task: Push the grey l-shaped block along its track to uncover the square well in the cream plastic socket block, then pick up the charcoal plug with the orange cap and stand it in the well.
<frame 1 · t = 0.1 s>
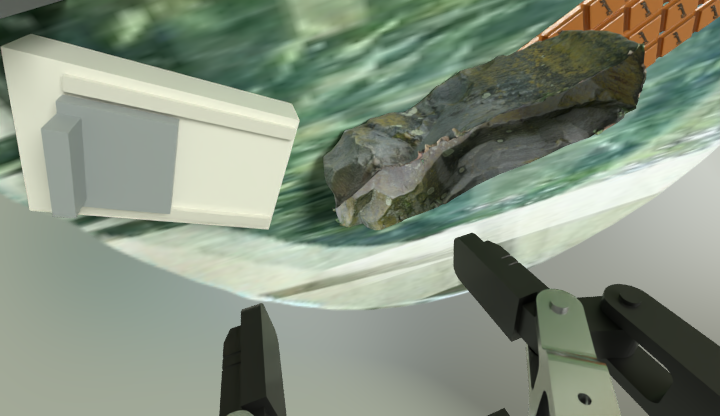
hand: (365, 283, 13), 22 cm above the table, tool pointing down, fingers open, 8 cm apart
socket block: (176, 141, 29), on the table
stone: (432, 121, 37), on the table
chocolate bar: (614, 34, 38), on the table
grey l-shaped block: (119, 170, 23), point 6 cm above the table, slide at 0.0 cm
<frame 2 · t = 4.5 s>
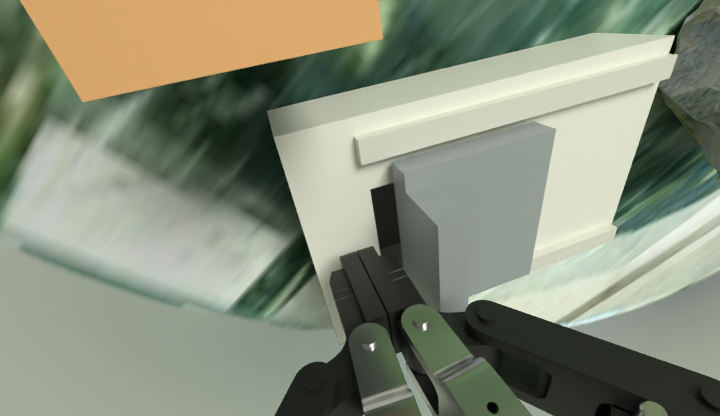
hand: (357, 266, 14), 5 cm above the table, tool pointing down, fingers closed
socket block: (447, 174, 19), on the table
grey l-shaped block: (487, 240, 14), point 6 cm above the table, slide at 1.4 cm, touching gripper
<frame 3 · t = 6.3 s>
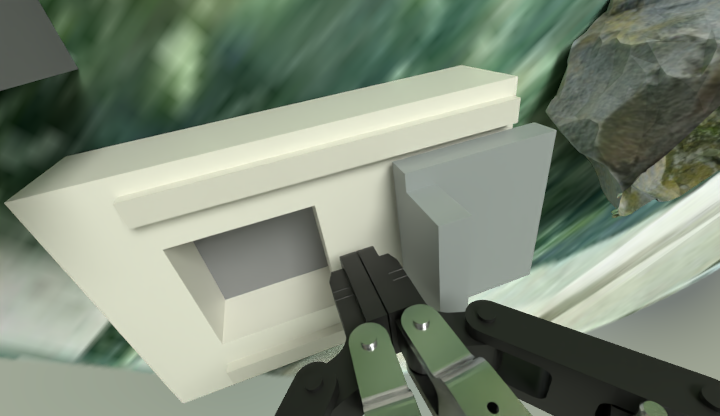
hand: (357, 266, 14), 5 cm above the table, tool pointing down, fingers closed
socket block: (315, 214, 18), on the table
grey l-shaped block: (487, 241, 14), point 6 cm above the table, slide at 9.5 cm, touching gripper
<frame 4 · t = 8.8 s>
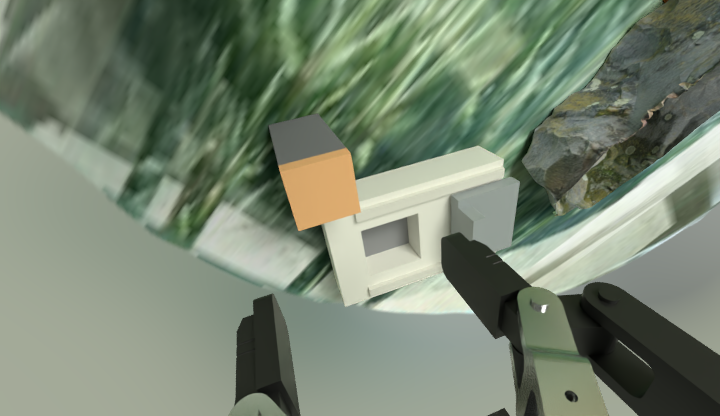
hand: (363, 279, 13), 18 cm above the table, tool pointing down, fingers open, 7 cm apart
socket block: (403, 216, 35), on the table
plug: (299, 142, 28), on the table
stone: (610, 83, 35), on the table
grey l-shaped block: (490, 228, 31), point 6 cm above the table, slide at 9.5 cm
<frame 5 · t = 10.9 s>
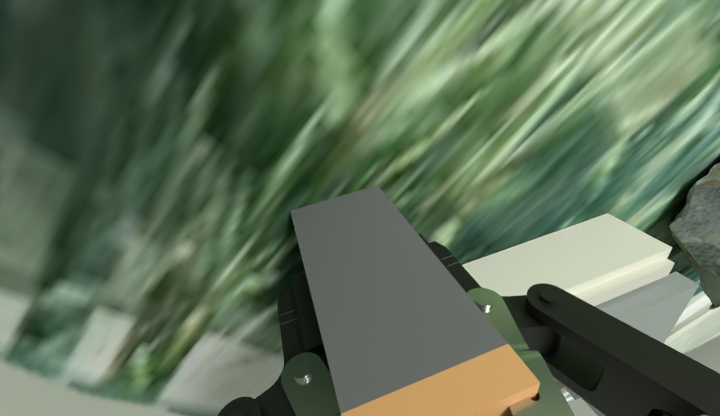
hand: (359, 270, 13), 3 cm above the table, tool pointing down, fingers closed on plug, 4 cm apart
socket block: (486, 315, 23), on the table
plug: (343, 233, 16), on the table, touching gripper
grey l-shaped block: (642, 354, 19), point 6 cm above the table, slide at 9.5 cm
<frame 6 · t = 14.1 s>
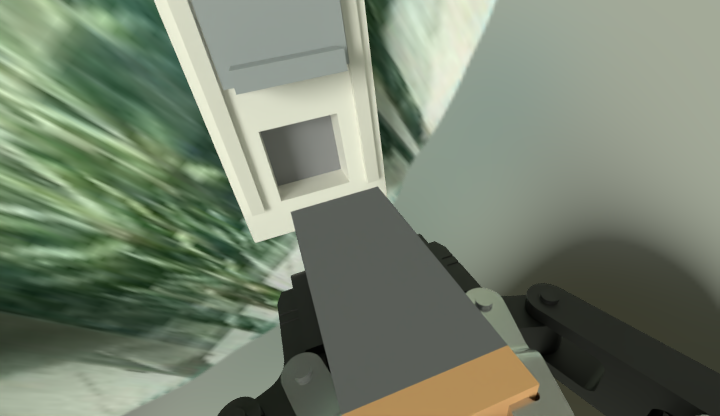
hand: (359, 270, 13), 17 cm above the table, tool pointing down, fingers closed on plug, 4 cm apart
socket block: (291, 108, 26), on the table
plug: (343, 234, 16), point 15 cm above the table, touching gripper
grey l-shaped block: (274, 15, 18), point 6 cm above the table, slide at 9.5 cm
when the fingers open (5 cm above the table, at t = 17.1 s): plug drops 1 cm, resting on socket block.
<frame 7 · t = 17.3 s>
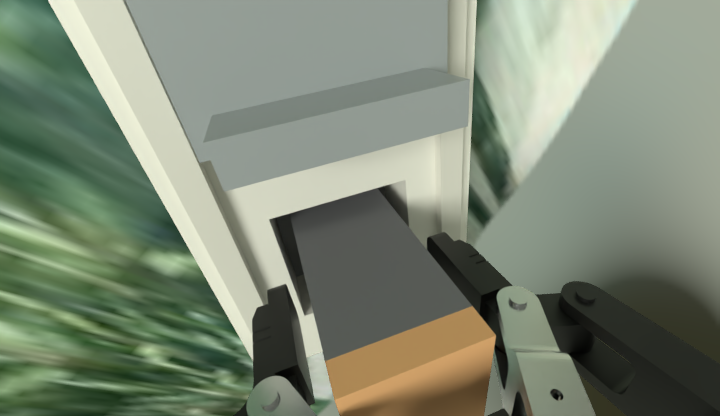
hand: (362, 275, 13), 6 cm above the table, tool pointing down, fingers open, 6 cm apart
socket block: (319, 161, 16), on the table
plug: (334, 221, 17), point 1 cm above the table, touching socket block
grey l-shaped block: (312, 4, 8), point 6 cm above the table, slide at 9.5 cm
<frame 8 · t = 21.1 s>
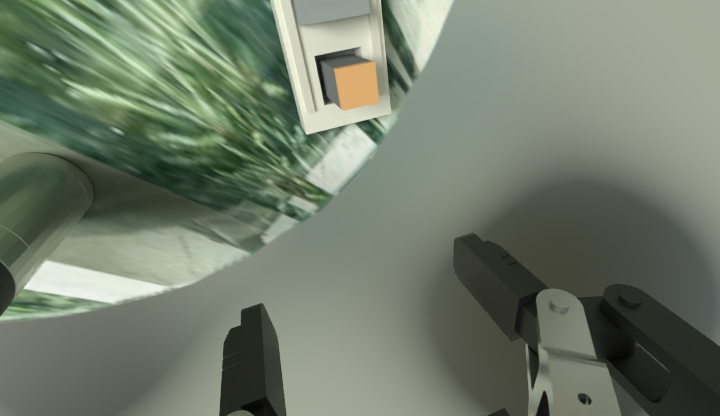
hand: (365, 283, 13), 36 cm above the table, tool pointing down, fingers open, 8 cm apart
socket block: (330, 48, 41), on the table
plug: (336, 74, 42), point 1 cm above the table, touching socket block
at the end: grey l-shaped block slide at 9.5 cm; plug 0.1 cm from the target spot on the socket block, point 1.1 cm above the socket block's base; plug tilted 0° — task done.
